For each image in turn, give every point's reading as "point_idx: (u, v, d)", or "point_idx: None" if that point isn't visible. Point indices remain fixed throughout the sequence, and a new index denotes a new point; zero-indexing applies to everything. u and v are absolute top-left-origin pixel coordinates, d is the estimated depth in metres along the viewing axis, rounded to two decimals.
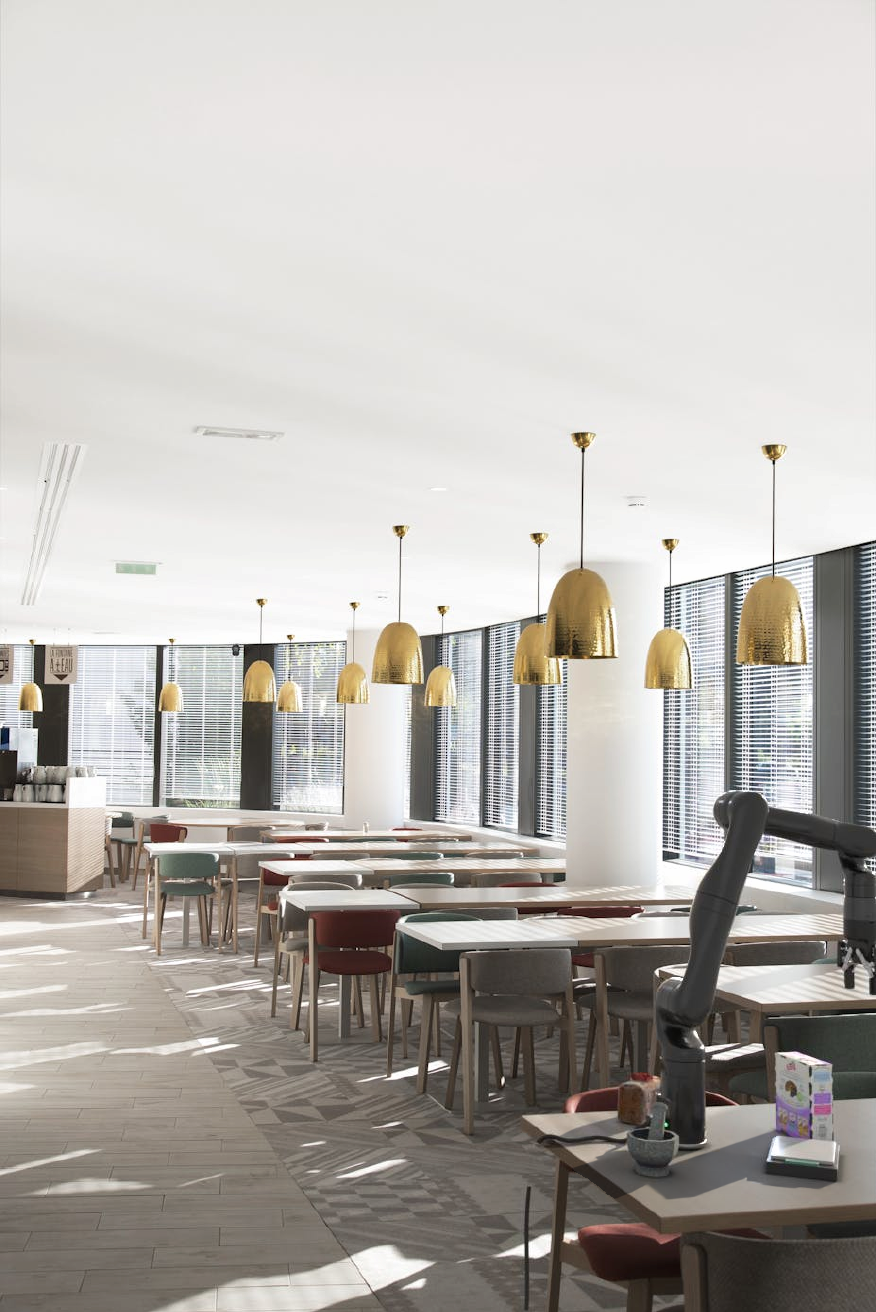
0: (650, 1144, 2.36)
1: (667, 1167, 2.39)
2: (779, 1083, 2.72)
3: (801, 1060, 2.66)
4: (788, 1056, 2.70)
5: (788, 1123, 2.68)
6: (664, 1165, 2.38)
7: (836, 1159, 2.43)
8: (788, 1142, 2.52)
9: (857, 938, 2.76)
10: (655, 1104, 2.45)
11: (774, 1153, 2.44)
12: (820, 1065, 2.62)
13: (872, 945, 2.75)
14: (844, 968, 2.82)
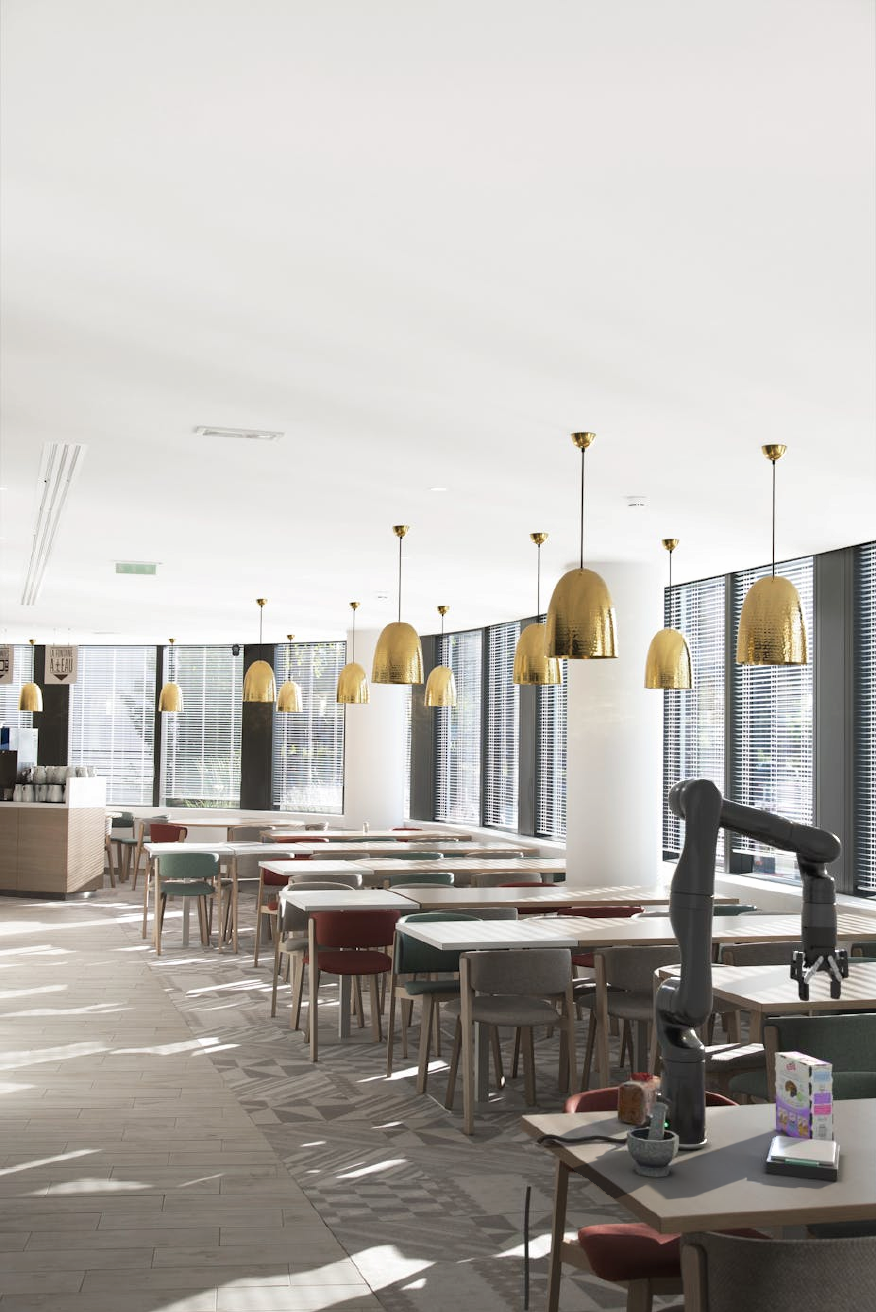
0: (650, 1144, 2.36)
1: (667, 1167, 2.39)
2: (779, 1083, 2.72)
3: (801, 1060, 2.66)
4: (788, 1056, 2.70)
5: (788, 1123, 2.68)
6: (664, 1165, 2.38)
7: (836, 1159, 2.43)
8: (788, 1142, 2.52)
9: None
10: (655, 1104, 2.45)
11: (774, 1153, 2.44)
12: (820, 1065, 2.62)
13: (806, 950, 2.72)
14: None
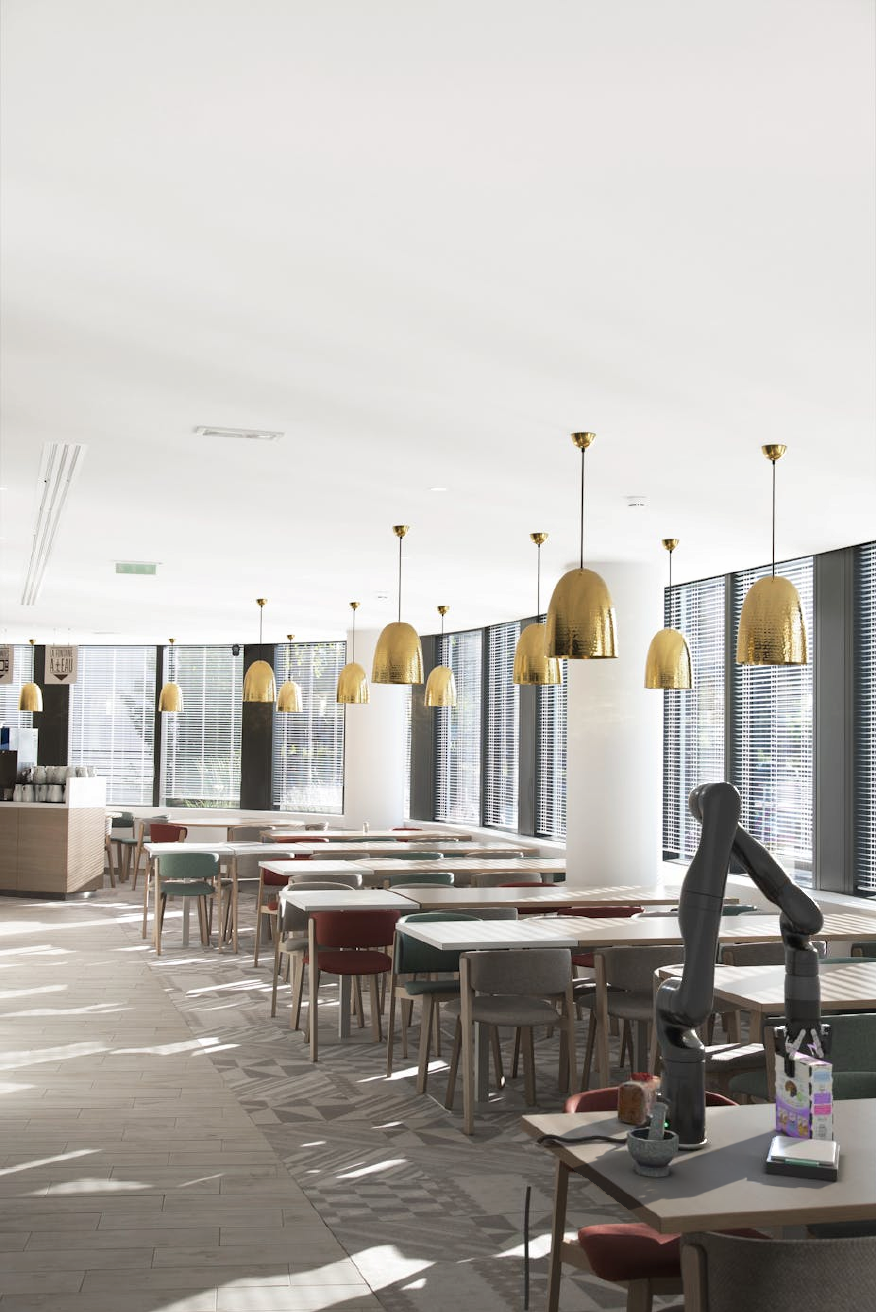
0: (650, 1144, 2.36)
1: (667, 1167, 2.39)
2: (779, 1083, 2.72)
3: (801, 1060, 2.66)
4: None
5: (788, 1123, 2.68)
6: (664, 1165, 2.38)
7: (836, 1159, 2.43)
8: (788, 1142, 2.52)
9: None
10: (655, 1104, 2.45)
11: (774, 1153, 2.44)
12: (820, 1065, 2.62)
13: (787, 1024, 2.68)
14: None
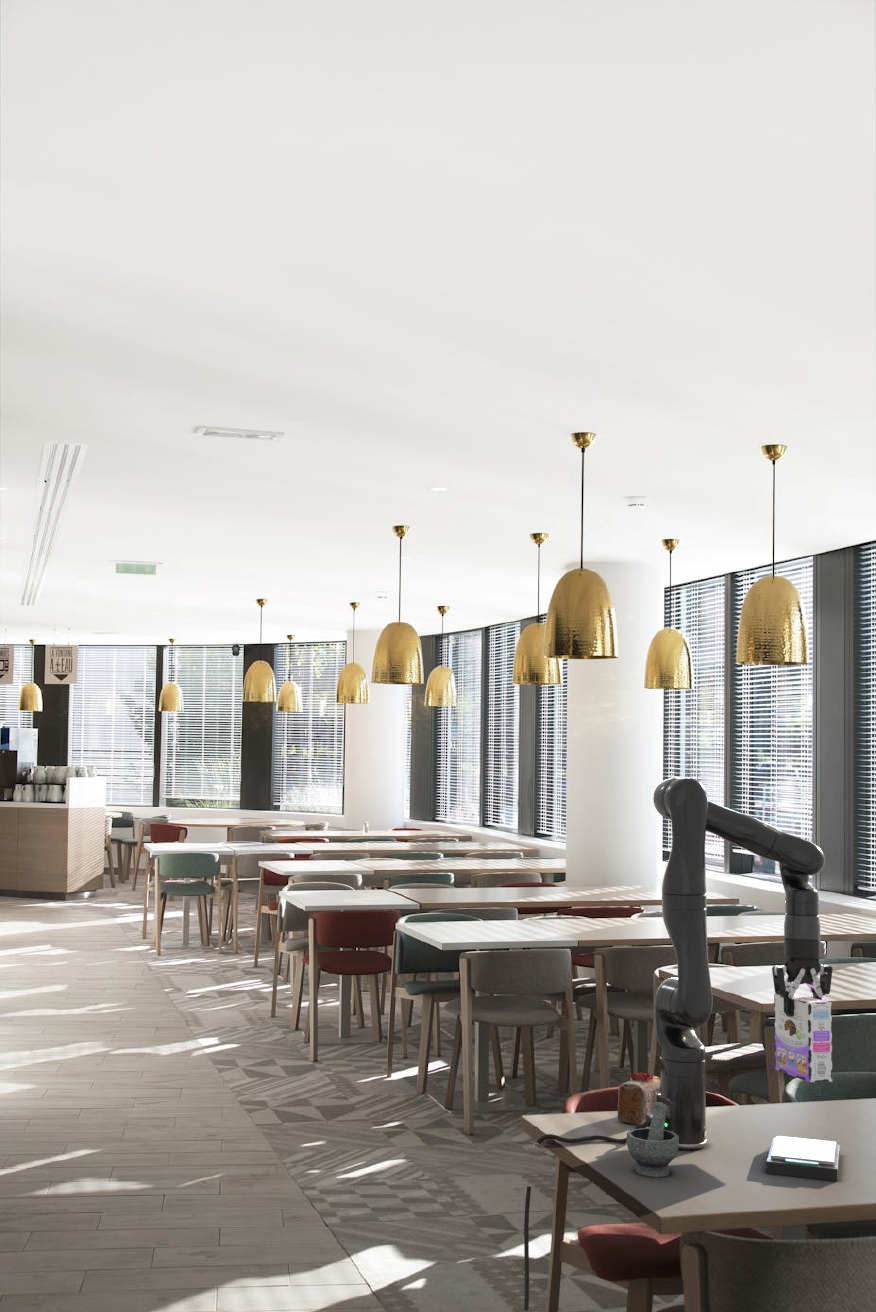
0: (650, 1144, 2.36)
1: (667, 1167, 2.39)
2: (778, 1023, 2.73)
3: (800, 999, 2.67)
4: None
5: (787, 1062, 2.69)
6: (664, 1165, 2.38)
7: (836, 1159, 2.43)
8: (788, 1142, 2.52)
9: None
10: (655, 1104, 2.45)
11: (774, 1153, 2.44)
12: (819, 1003, 2.64)
13: (787, 963, 2.70)
14: None
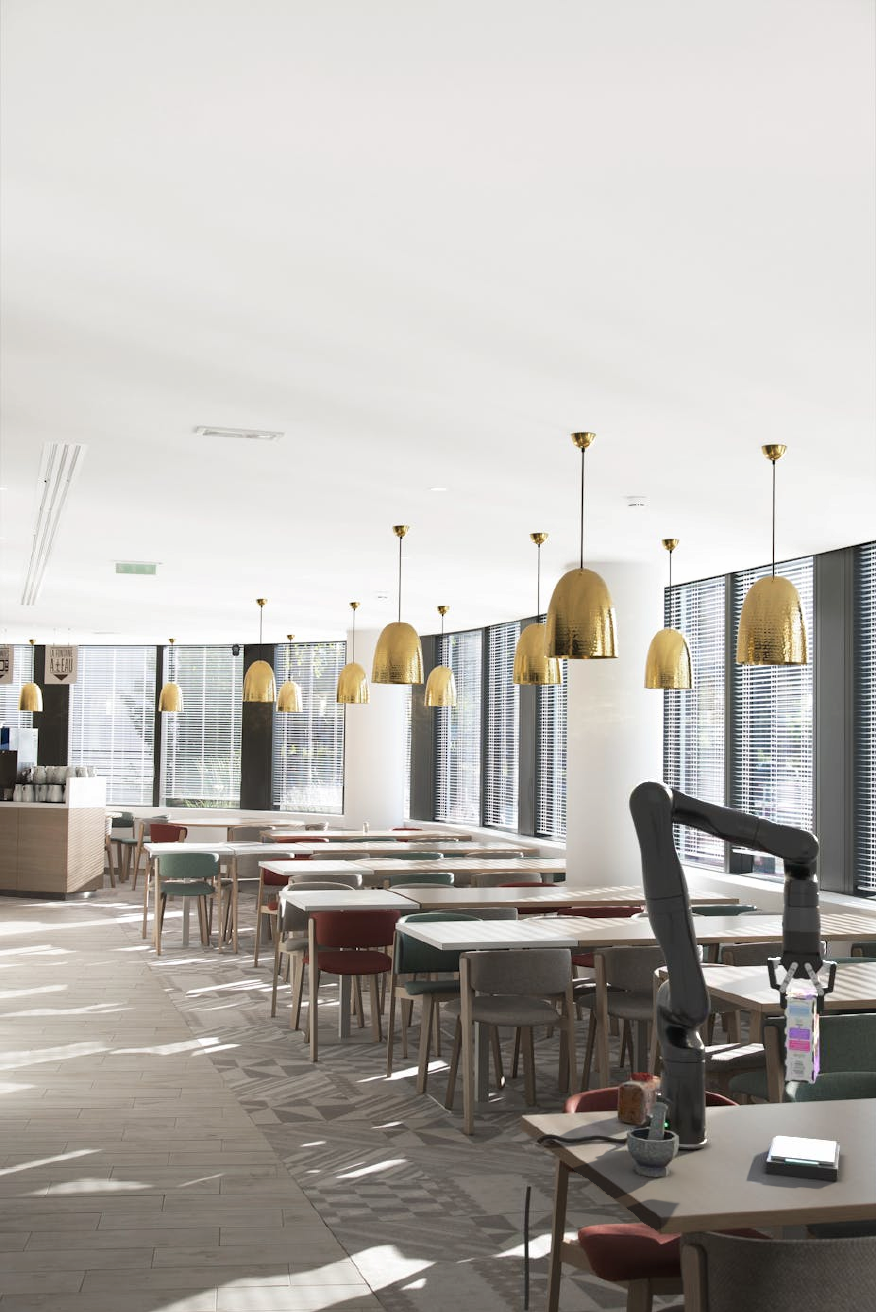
0: (650, 1144, 2.36)
1: (667, 1167, 2.39)
2: None
3: (791, 994, 2.54)
4: (791, 991, 2.58)
5: None
6: (664, 1165, 2.38)
7: (836, 1159, 2.43)
8: (788, 1142, 2.52)
9: None
10: (655, 1104, 2.45)
11: (774, 1153, 2.44)
12: (798, 999, 2.49)
13: (782, 956, 2.57)
14: None
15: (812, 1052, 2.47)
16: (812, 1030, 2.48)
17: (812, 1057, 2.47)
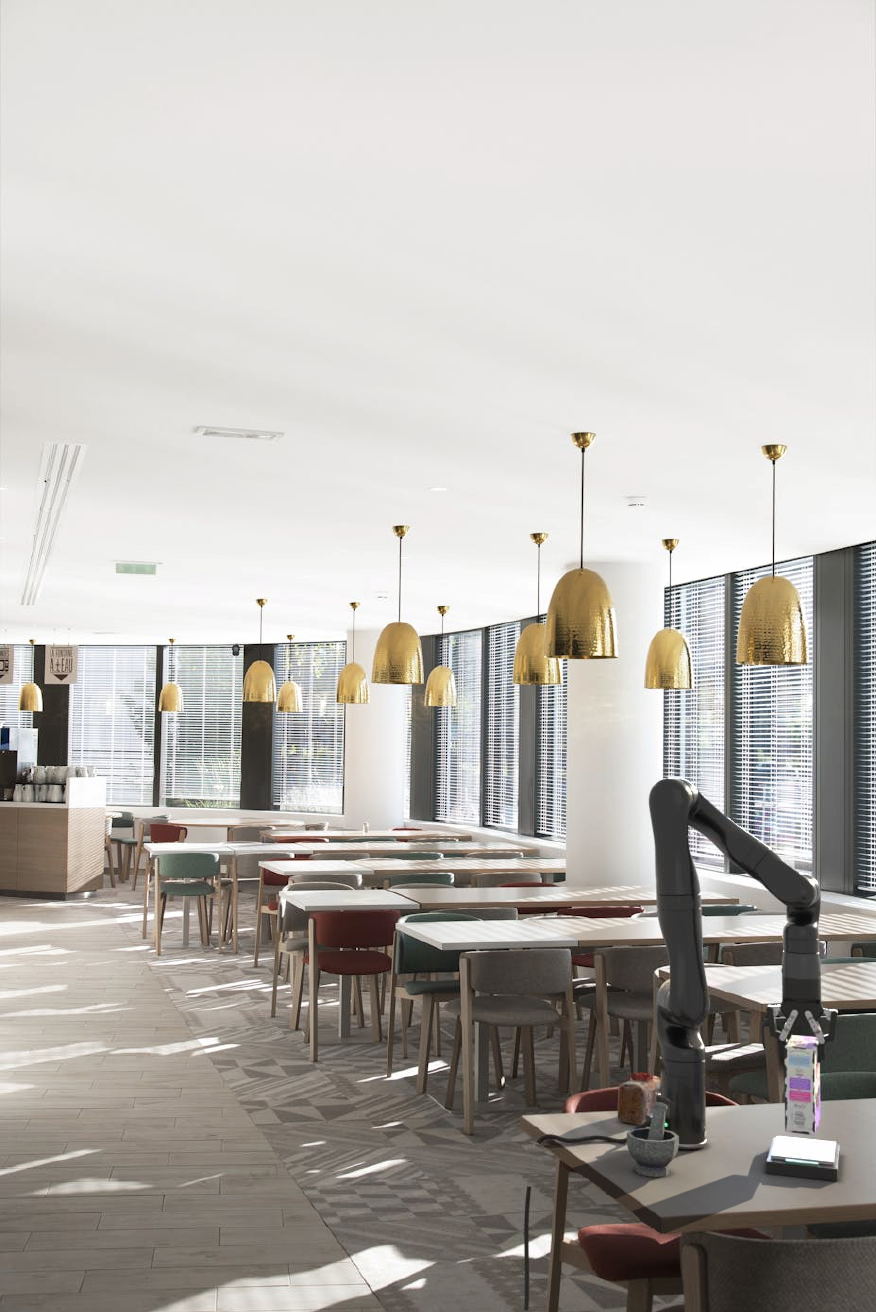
0: (650, 1144, 2.36)
1: (667, 1167, 2.39)
2: None
3: (791, 1042, 2.49)
4: (791, 1038, 2.53)
5: None
6: (664, 1165, 2.38)
7: (836, 1159, 2.43)
8: (788, 1142, 2.52)
9: None
10: (655, 1104, 2.45)
11: (774, 1153, 2.44)
12: (798, 1048, 2.45)
13: None
14: None
15: (813, 1103, 2.42)
16: (813, 1080, 2.43)
17: (813, 1108, 2.42)
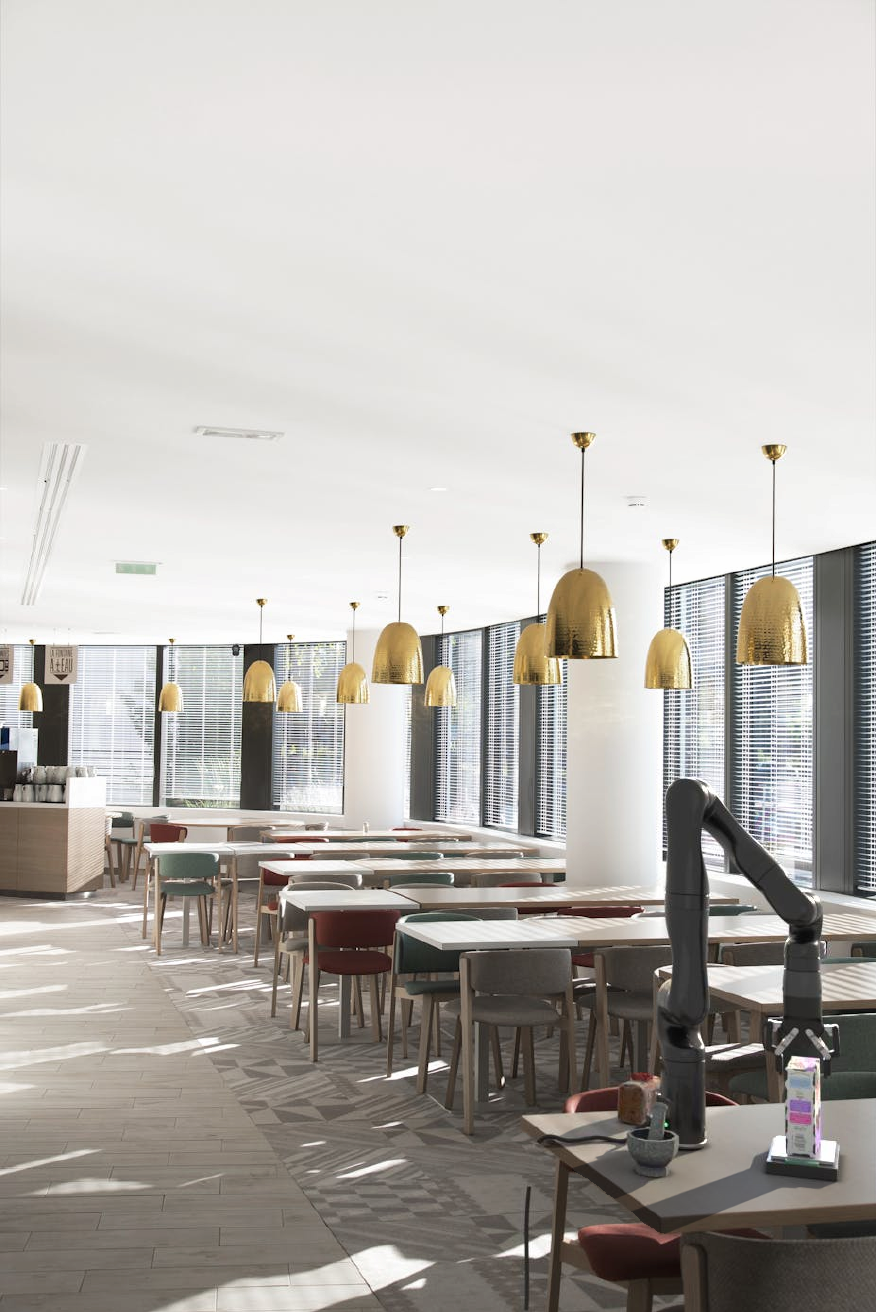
0: (650, 1144, 2.36)
1: (667, 1167, 2.39)
2: None
3: (791, 1064, 2.49)
4: (791, 1060, 2.53)
5: None
6: (664, 1165, 2.38)
7: (836, 1159, 2.43)
8: None
9: None
10: (655, 1104, 2.45)
11: (774, 1153, 2.44)
12: (798, 1070, 2.44)
13: None
14: None
15: (813, 1125, 2.42)
16: (813, 1103, 2.43)
17: (813, 1130, 2.42)
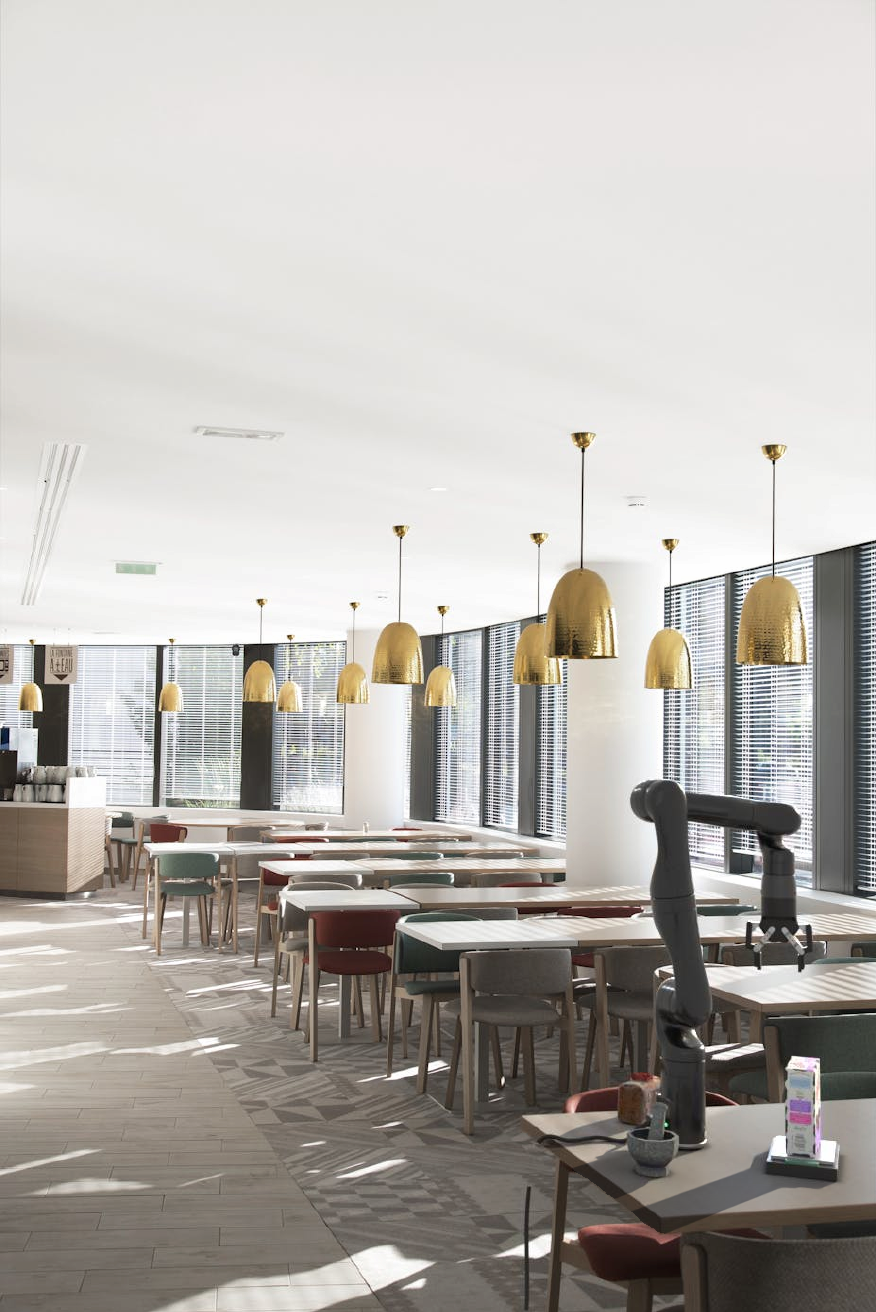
0: (650, 1144, 2.36)
1: (667, 1167, 2.39)
2: None
3: (791, 1064, 2.49)
4: (791, 1060, 2.53)
5: None
6: (664, 1165, 2.38)
7: (836, 1159, 2.43)
8: None
9: None
10: (655, 1104, 2.45)
11: (774, 1153, 2.44)
12: (798, 1070, 2.44)
13: None
14: None
15: (813, 1125, 2.42)
16: (813, 1103, 2.43)
17: (813, 1130, 2.42)
